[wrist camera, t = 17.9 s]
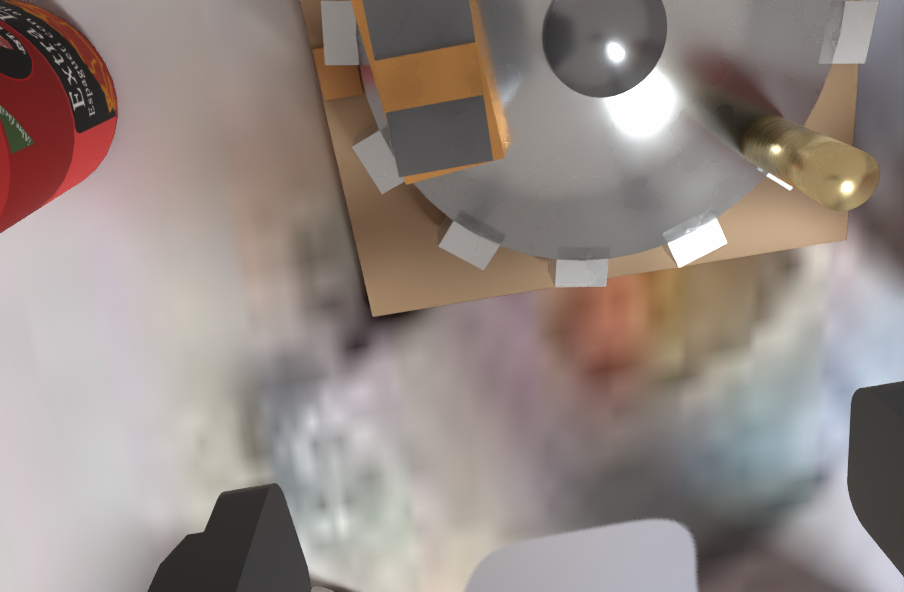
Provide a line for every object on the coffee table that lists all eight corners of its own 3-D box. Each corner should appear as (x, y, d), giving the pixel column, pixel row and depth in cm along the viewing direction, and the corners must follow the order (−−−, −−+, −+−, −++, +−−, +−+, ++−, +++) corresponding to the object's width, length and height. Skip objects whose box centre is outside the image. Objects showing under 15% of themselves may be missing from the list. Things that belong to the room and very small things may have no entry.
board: (839, 235, 34) (848, 241, 33) (373, 311, 34) (372, 318, 34) (879, -370, 25) (893, -380, 24) (244, -250, 25) (239, -257, 24)
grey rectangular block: (484, 135, 28) (494, 161, 24) (401, 150, 28) (398, 178, 24) (458, -35, 25) (465, -35, 22) (367, -17, 25) (357, -15, 22)
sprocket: (962, -76, 27) (1157, -93, 20) (644, 341, 34) (704, 441, 27) (506, -445, 23) (547, -642, 15) (243, 126, 30) (185, 178, 22)
